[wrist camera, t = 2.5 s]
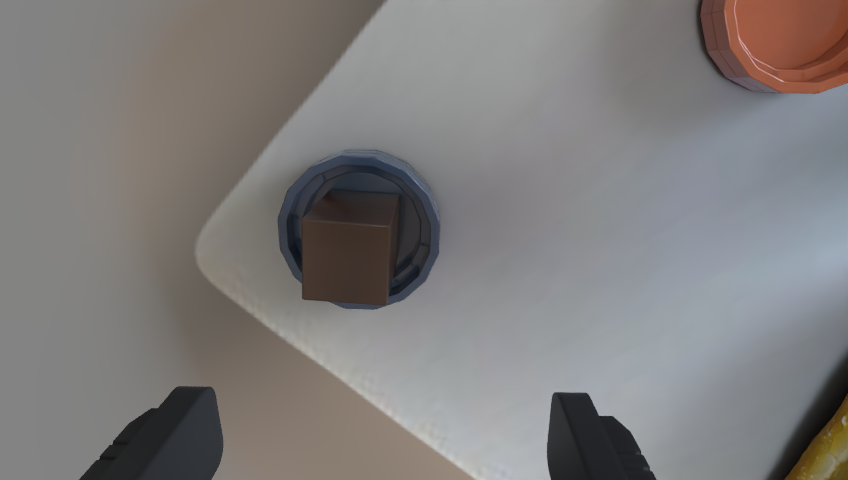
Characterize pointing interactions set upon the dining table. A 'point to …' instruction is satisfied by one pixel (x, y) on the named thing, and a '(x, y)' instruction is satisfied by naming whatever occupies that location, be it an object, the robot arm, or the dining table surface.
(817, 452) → the bread
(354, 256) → the block
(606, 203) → the dining table surface
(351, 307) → the slate dish
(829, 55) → the terracotta dish
